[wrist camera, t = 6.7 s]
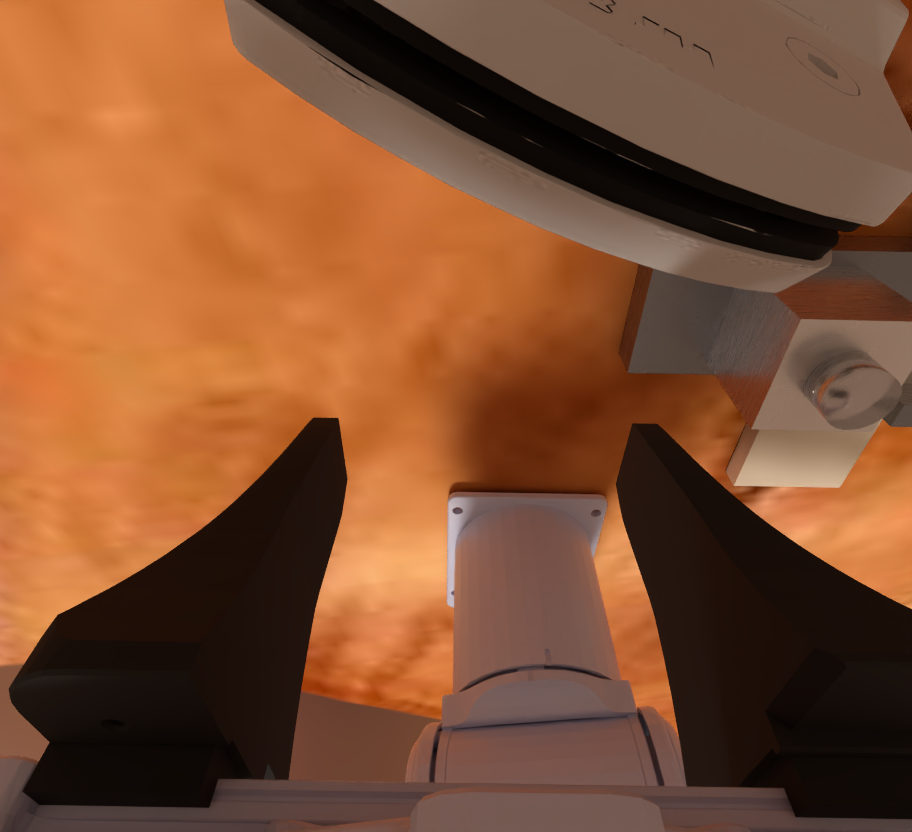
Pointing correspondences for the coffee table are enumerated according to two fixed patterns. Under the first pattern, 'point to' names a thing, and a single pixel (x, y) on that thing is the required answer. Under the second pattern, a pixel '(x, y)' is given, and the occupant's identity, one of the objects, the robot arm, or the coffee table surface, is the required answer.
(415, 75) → the grey rounded housing
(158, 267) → the coffee table surface
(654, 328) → the flange rail
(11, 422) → the coffee table surface
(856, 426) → the block
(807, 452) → the pad
